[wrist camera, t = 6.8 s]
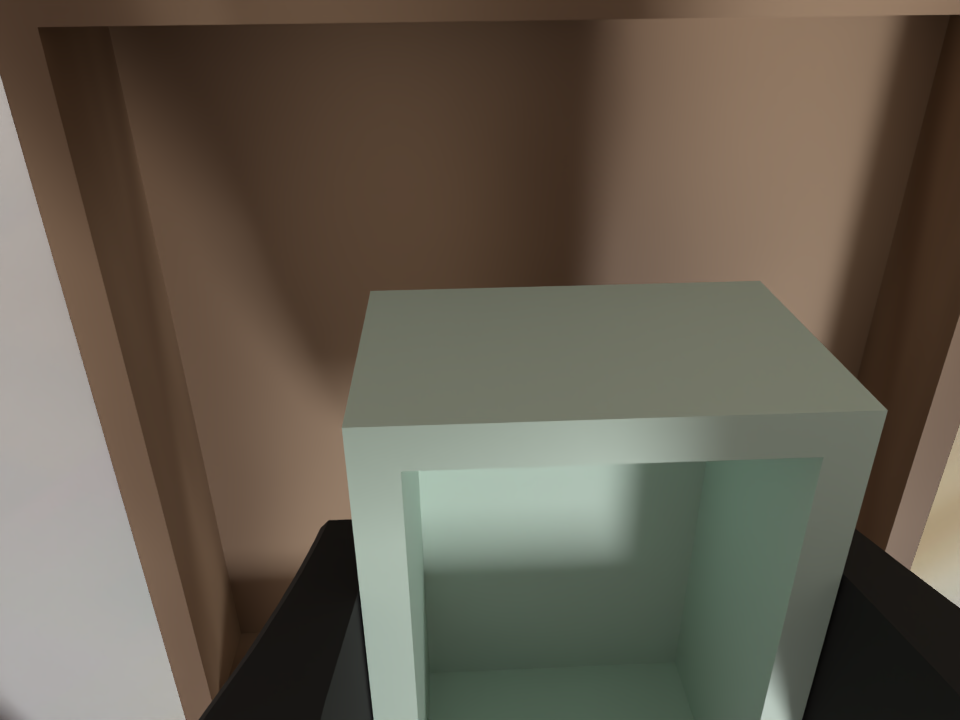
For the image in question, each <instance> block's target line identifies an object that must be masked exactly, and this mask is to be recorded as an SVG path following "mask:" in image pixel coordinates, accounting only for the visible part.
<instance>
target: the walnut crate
mask: <svg viewBox="0 0 960 720" xmlns="http://www.w3.org/2000/svg"><path fill="white" fill-rule="evenodd" d="M0 75H1V79H2V82H3V86H4V89H5V93H6V96H7V100H8V103H9V106H10V110H11V113H12V117H13V120H14V124H15V127H16V131H17V134H18V138H19V141H20V145H21V148H22V152H23V155H24V159H25V162H26V166H27V169H28V173H29V176H30V179H31V183H32V186H33V190H34V193H35V197H36V200H37V204H38V207H39V211H40V214H41V218H42V221H43V225H44V228H45V232H46V235H47V239H48V242H49V246H50V249H51V252H52V256H53V259H54V263H55V266H56V270H57V273H58V277H59V280H60V284H61V287H62V291H63V294H64V298H65V301H66V305H67V308H68V312H69V315H70V319H71V322H72V325H73V329H74V332H75V336H76V339H77V343H78V346H79V350H80V353H81V357H82V360H83V364H84V367H85V371H86V374H87V378H88V381H89V385H90V388H91V392H92V395H93V398H94V402H95V405H96V409H97V412H98V416H99V419H100V423H101V426H102V430H103V433H104V437H105V440H106V444H107V447H108V451H109V454H110V458H111V461H112V465H113V468H114V471H115V475H116V478H117V482H118V485H119V489H120V492H121V496H122V499H123V503H124V506H125V510H126V513H127V517H128V520H129V524H130V527H131V531H132V534H133V538H134V541H135V544H136V548H137V551H138V555H139V558H140V562H141V565H142V569H143V572H144V576H145V579H146V583H147V586H148V590H149V593H150V597H151V600H152V604H153V607H154V611H155V614H156V617H157V621H158V624H159V628H160V631H161V635H162V638H163V642H164V645H165V649H166V652H167V656H168V659H169V663H170V666H171V670H172V673H173V677H174V680H175V684H176V687H177V690H178V694H179V697H180V701H181V704H182V708H183V711H184V715H185V718H186V720H199V718H200V717H201V716H202V714H203V713H204V711H205V710H206V709H207V707H208V706H209V705H210V703H211V702H212V700H213V699H214V698H215V696H216V695H217V694H218V692H219V691H220V689H221V688H222V687H223V685H224V684H225V683H226V681H227V680H228V678H229V677H230V676H231V674H232V673H233V672H234V670H235V669H236V667H237V666H238V665H239V663H240V662H241V660H242V659H243V657H244V656H245V654H246V653H247V651H248V650H249V648H250V647H251V645H252V644H253V642H254V641H255V639H256V638H257V636H258V634H259V633H260V631H261V630H262V628H263V627H264V625H265V624H266V622H267V621H268V619H269V617H270V616H271V614H272V613H273V611H274V610H275V608H276V607H277V605H278V604H279V602H280V600H281V599H282V597H283V595H284V594H285V592H286V590H287V589H288V587H289V585H290V583H291V582H292V580H293V578H294V577H295V575H296V573H297V572H298V570H299V568H300V566H301V564H302V563H303V561H304V559H305V557H306V555H307V553H308V552H309V550H310V548H311V546H312V544H313V542H314V540H315V538H316V536H317V534H318V532H319V530H320V528H321V527H322V526H323V525H324V524H325V523H326V522H327V521H328V520H345V519H352V517H351V508H350V499H349V490H348V480H347V471H346V462H345V453H344V444H343V435H342V424H343V420H344V415H345V410H346V405H347V400H348V396H349V391H350V386H351V381H352V377H353V372H354V367H355V362H356V358H357V353H358V348H359V343H360V339H361V334H362V329H363V324H364V320H365V315H366V310H367V305H368V300H369V296H370V291H387V290H426V289H465V288H504V287H542V286H581V285H620V284H659V283H697V282H736V281H761V282H762V283H763V284H764V285H765V286H766V287H767V288H768V289H769V290H770V292H771V293H772V294H773V295H774V296H775V297H776V298H777V299H778V300H779V301H780V302H781V303H782V304H783V305H784V306H785V307H786V308H787V309H788V310H789V311H790V312H791V313H792V314H793V315H794V316H795V317H796V318H797V319H798V320H799V321H800V322H801V323H802V324H803V325H804V326H805V327H806V328H807V329H808V330H809V331H810V332H811V333H812V334H813V335H814V336H815V337H816V338H817V339H818V340H819V341H820V342H821V343H822V344H823V345H824V346H825V347H826V348H827V349H828V350H829V351H830V352H831V353H832V354H833V355H834V356H835V357H836V358H837V359H838V360H839V361H840V362H841V363H842V364H843V366H844V367H845V368H846V369H847V370H848V371H849V372H850V373H851V374H852V375H853V376H854V377H855V378H856V379H857V380H858V381H859V382H860V383H861V384H862V385H863V386H864V387H865V388H866V389H867V390H868V391H869V392H870V393H871V394H872V395H873V396H874V397H875V398H876V399H877V400H878V401H879V402H880V403H881V404H882V405H883V406H884V407H885V408H886V409H887V410H888V411H887V415H886V419H885V422H884V426H883V429H882V433H881V437H880V440H879V444H878V447H877V451H876V455H875V458H874V462H873V465H872V469H871V473H870V476H869V480H868V483H867V487H866V491H865V494H864V498H863V502H862V505H861V509H860V512H859V516H858V520H857V523H856V527H855V529H857V530H858V531H859V532H861V533H862V534H863V535H864V536H866V537H867V538H868V539H870V540H871V541H872V542H874V543H875V544H876V545H877V546H879V547H880V548H881V549H883V550H884V551H885V552H887V553H888V554H889V555H890V556H892V557H893V558H894V559H896V560H897V561H898V562H900V563H901V564H902V565H903V566H905V567H906V568H907V569H909V570H910V569H911V566H912V563H913V560H914V557H915V554H916V551H917V548H918V545H919V542H920V539H921V536H922V534H923V531H924V528H925V525H926V522H927V519H928V516H929V513H930V510H931V507H932V504H933V501H934V498H935V495H936V492H937V490H938V487H939V484H940V481H941V478H942V475H943V472H944V469H945V466H946V463H947V460H948V457H949V454H950V451H951V448H952V445H953V443H954V440H955V437H956V434H957V431H958V428H959V425H960V0H0Z"/></svg>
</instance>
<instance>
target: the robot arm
mask: <svg viewBox="0 0 960 720" xmlns="http://www.w3.org/2000/svg"><path fill="white" fill-rule="evenodd" d="M199 720H374V717H373V708H372V699H371V690H370V681H369V672H368V663H367V654H366V645H365V635H364V626H363V617H362V608H361V599H360V590H359V581H358V572H357V563H356V553H355V544H354V535H353V526H352V519H345V520H328V521H327V522H326V523H325V524H324V525H323V526H322V527H321V528H320V530H319V532H318V534H317V536H316V538H315V540H314V542H313V544H312V546H311V548H310V550H309V552H308V553H307V555H306V557H305V559H304V561H303V563H302V564H301V566H300V568H299V570H298V572H297V573H296V575H295V577H294V578H293V580H292V582H291V583H290V585H289V587H288V589H287V590H286V592H285V594H284V595H283V597H282V599H281V600H280V602H279V604H278V605H277V607H276V608H275V610H274V611H273V613H272V614H271V616H270V617H269V619H268V621H267V622H266V624H265V625H264V627H263V628H262V630H261V631H260V633H259V634H258V636H257V638H256V639H255V641H254V642H253V644H252V645H251V647H250V648H249V650H248V651H247V653H246V654H245V656H244V657H243V659H242V660H241V662H240V663H239V665H238V666H237V667H236V669H235V670H234V672H233V673H232V674H231V676H230V677H229V678H228V680H227V681H226V683H225V684H224V685H223V687H222V688H221V689H220V691H219V692H218V694H217V695H216V696H215V698H214V699H213V700H212V702H211V703H210V705H209V706H208V707H207V709H206V710H205V711H204V713H203V714H202V716H201V717H200V718H199ZM802 720H960V608H959V607H958V606H956V605H955V604H954V603H952V602H951V601H950V600H948V599H947V598H946V597H944V596H943V595H942V594H940V593H939V592H938V591H936V590H935V589H934V588H932V587H931V586H930V585H928V584H927V583H926V582H924V581H923V580H922V579H920V578H919V577H918V576H916V575H915V574H914V573H913V572H911V571H910V570H909V569H907V568H906V567H905V566H903V565H902V564H901V563H900V562H898V561H897V560H896V559H894V558H893V557H892V556H890V555H889V554H888V553H887V552H885V551H884V550H883V549H881V548H880V547H879V546H877V545H876V544H875V543H874V542H872V541H871V540H870V539H868V538H867V537H866V536H864V535H863V534H862V533H861V532H859V531H858V530H857V529H855V530H854V534H853V538H852V541H851V545H850V548H849V552H848V556H847V559H846V563H845V566H844V570H843V574H842V577H841V581H840V584H839V588H838V592H837V595H836V599H835V603H834V606H833V610H832V613H831V617H830V621H829V624H828V628H827V631H826V635H825V639H824V642H823V646H822V649H821V653H820V657H819V660H818V664H817V667H816V671H815V675H814V678H813V682H812V685H811V689H810V693H809V696H808V700H807V703H806V707H805V711H804V714H803V718H802Z"/></svg>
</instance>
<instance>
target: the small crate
mask: <svg viewBox="0 0 960 720" xmlns="http://www.w3.org/2000/svg"><path fill="white" fill-rule="evenodd" d="M887 411H888V410H887V409H886V408H885V407H884V406H883V405H882V404H881V403H880V402H879V401H878V400H877V399H876V398H875V397H874V396H873V395H872V394H871V393H870V392H869V391H868V390H867V389H866V388H865V387H864V386H863V385H862V384H861V383H860V382H859V381H858V380H857V379H856V378H855V377H854V376H853V375H852V374H851V373H850V372H849V371H848V370H847V369H846V368H845V367H844V366H843V364H842V363H841V362H840V361H839V360H838V359H837V358H836V357H835V356H834V355H833V354H832V353H831V352H830V351H829V350H828V349H827V348H826V347H825V346H824V345H823V344H822V343H821V342H820V341H819V340H818V339H817V338H816V337H815V336H814V335H813V334H812V333H811V332H810V331H809V330H808V329H807V328H806V327H805V326H804V325H803V324H802V323H801V322H800V321H799V320H798V319H797V318H796V317H795V316H794V315H793V314H792V313H791V312H790V311H789V310H788V309H787V308H786V307H785V306H784V305H783V304H782V303H781V302H780V301H779V300H778V299H777V298H776V297H775V296H774V295H773V294H772V293H771V292H770V290H769V289H768V288H767V287H766V286H765V285H764V284H763V283H762V282H761V281H736V282H697V283H659V284H620V285H581V286H542V287H504V288H465V289H426V290H387V291H370V296H369V300H368V305H367V310H366V315H365V320H364V324H363V329H362V334H361V339H360V343H359V348H358V353H357V358H356V362H355V367H354V372H353V377H352V381H351V386H350V391H349V396H348V400H347V405H346V410H345V415H344V420H343V424H342V435H343V444H344V453H345V462H346V471H347V480H348V490H349V499H350V508H351V517H352V526H353V535H354V544H355V553H356V563H357V572H358V581H359V590H360V599H361V608H362V617H363V626H364V635H365V645H366V654H367V663H368V672H369V681H370V690H371V699H372V708H373V717H374V720H802V718H803V714H804V711H805V707H806V703H807V700H808V696H809V693H810V689H811V685H812V682H813V678H814V675H815V671H816V667H817V664H818V660H819V657H820V653H821V649H822V646H823V642H824V639H825V635H826V631H827V628H828V624H829V621H830V617H831V613H832V610H833V606H834V603H835V599H836V595H837V592H838V588H839V584H840V581H841V577H842V574H843V570H844V566H845V563H846V559H847V556H848V552H849V548H850V545H851V541H852V538H853V534H854V530H855V527H856V523H857V520H858V516H859V512H860V509H861V505H862V502H863V498H864V494H865V491H866V487H867V483H868V480H869V476H870V473H871V469H872V465H873V462H874V458H875V455H876V451H877V447H878V444H879V440H880V437H881V433H882V429H883V426H884V422H885V419H886V415H887Z"/></svg>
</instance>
